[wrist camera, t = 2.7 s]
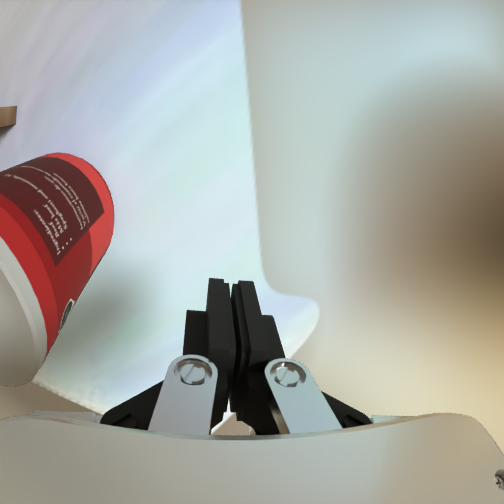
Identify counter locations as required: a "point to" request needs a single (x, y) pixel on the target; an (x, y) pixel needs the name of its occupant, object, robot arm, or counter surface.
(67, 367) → the counter surface
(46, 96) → the counter surface
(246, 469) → the robot arm
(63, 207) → the canned food
